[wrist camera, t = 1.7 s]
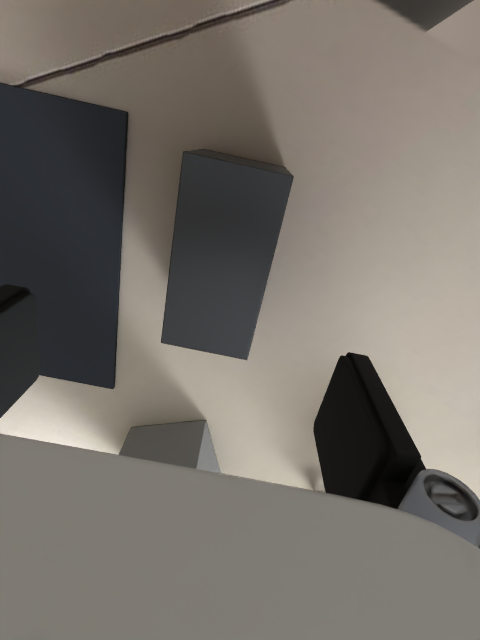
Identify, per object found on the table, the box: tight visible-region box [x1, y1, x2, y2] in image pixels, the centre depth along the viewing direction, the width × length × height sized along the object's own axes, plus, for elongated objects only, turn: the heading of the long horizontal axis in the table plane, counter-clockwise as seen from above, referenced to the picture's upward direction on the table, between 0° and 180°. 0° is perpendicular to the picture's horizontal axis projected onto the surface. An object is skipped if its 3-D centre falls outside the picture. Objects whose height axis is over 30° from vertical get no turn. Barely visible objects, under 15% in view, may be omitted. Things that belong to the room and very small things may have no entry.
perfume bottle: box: [119, 420, 220, 473], centre depth 24 cm, size 7×7×18 cm
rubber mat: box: [0, 83, 128, 389], centre depth 24 cm, size 20×14×1 cm
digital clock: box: [161, 149, 293, 360], centre depth 21 cm, size 10×5×6 cm, turn 169°
